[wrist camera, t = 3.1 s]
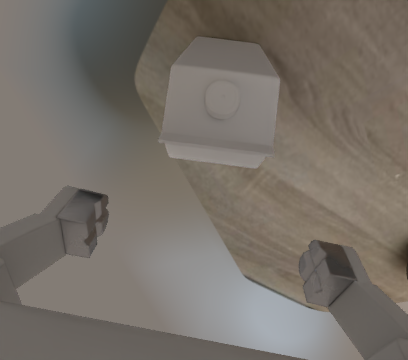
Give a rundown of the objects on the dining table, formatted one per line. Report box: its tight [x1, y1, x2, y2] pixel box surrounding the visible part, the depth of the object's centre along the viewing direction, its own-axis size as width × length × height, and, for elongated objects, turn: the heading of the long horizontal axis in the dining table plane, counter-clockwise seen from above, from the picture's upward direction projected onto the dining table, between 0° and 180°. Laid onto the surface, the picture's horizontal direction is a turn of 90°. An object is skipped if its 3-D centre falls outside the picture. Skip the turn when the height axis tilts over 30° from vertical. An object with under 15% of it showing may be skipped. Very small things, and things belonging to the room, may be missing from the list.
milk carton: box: [158, 36, 280, 168], centre depth 23 cm, size 7×7×19 cm
